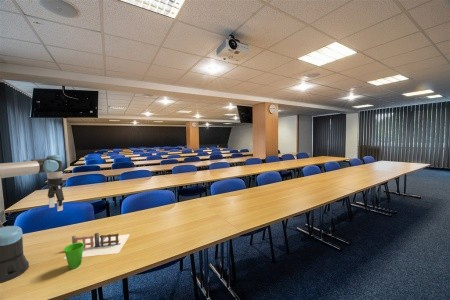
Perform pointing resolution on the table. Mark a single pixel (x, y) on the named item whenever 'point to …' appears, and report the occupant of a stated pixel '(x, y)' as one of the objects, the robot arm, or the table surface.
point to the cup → (74, 254)
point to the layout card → (104, 246)
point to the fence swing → (75, 240)
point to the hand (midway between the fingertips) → (55, 208)
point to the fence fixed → (105, 241)
